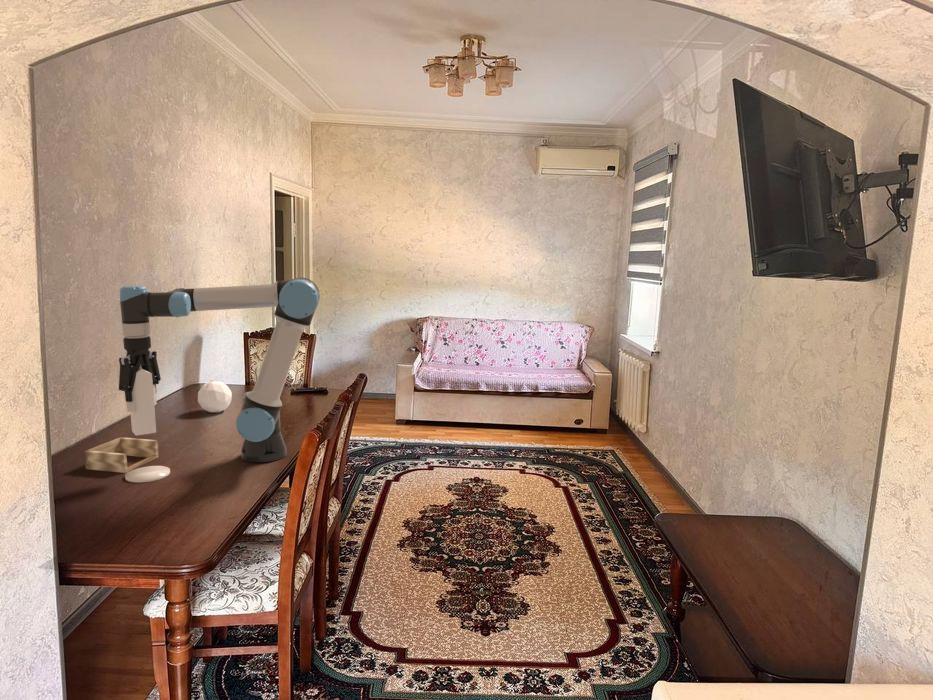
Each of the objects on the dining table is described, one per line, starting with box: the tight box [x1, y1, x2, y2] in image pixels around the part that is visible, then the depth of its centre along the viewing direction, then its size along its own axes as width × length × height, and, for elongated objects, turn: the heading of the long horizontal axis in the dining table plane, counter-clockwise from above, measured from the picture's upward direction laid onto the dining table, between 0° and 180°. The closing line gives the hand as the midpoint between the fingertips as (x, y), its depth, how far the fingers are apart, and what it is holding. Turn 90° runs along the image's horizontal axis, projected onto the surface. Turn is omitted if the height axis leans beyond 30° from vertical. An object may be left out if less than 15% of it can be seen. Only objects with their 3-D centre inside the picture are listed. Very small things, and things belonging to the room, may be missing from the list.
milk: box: [129, 365, 157, 437], centre depth 204 cm, size 6×6×22 cm
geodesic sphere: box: [197, 379, 233, 413], centre depth 283 cm, size 15×14×14 cm
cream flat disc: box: [124, 465, 171, 484], centre depth 208 cm, size 13×13×1 cm
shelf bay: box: [83, 436, 160, 474], centre depth 219 cm, size 15×16×6 cm
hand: (142, 407), depth 205 cm, fingers closed on milk, 8 cm apart
